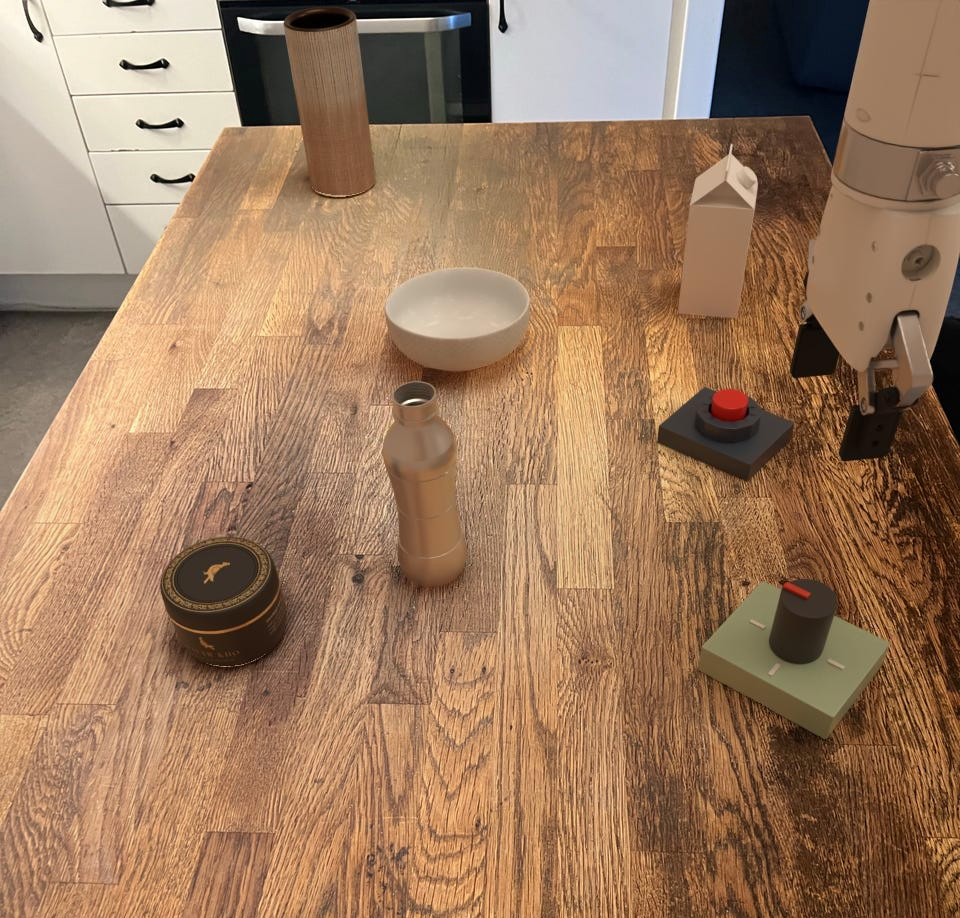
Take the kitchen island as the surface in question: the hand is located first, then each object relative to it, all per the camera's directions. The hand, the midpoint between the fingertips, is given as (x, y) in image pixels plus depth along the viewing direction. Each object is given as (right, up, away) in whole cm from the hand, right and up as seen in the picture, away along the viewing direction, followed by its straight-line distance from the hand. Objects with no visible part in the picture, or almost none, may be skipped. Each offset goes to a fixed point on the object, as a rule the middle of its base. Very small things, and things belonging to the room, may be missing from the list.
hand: (835, 413), depth 68 cm
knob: (+2, -16, +14) cm, 22 cm away
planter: (-45, +55, +85) cm, 111 cm away
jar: (-47, -15, +23) cm, 54 cm away
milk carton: (+4, +25, +55) cm, 61 cm away
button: (+1, +8, +35) cm, 36 cm away
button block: (+2, +6, +38) cm, 39 cm away
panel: (+2, -18, +17) cm, 25 cm away
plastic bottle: (-29, -9, +27) cm, 40 cm away
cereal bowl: (-27, +19, +52) cm, 61 cm away
